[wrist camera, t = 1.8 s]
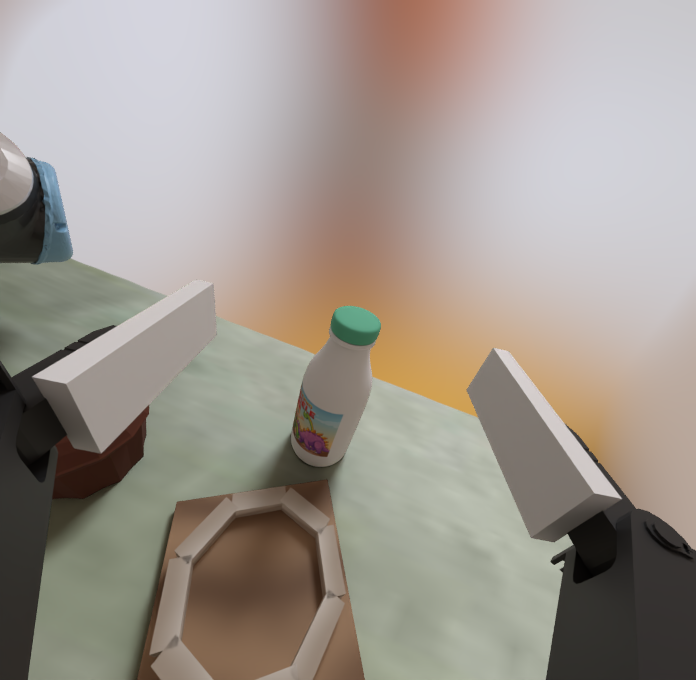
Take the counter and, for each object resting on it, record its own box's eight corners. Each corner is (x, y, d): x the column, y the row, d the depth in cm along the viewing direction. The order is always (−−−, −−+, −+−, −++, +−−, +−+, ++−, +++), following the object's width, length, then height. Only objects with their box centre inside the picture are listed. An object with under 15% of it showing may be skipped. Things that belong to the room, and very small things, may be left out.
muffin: (183, 429, 32) (172, 371, 26) (95, 533, 23) (49, 477, 17) (93, 400, 32) (62, 335, 27) (-30, 491, 23) (-117, 422, 18)
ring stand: (178, 507, 26) (174, 494, 24) (325, 484, 31) (330, 472, 29) (115, 800, 15) (100, 812, 13) (361, 688, 20) (372, 687, 18)
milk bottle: (331, 411, 40) (369, 295, 28) (357, 456, 35) (415, 337, 24) (282, 425, 36) (303, 297, 24) (302, 479, 31) (341, 349, 20)
